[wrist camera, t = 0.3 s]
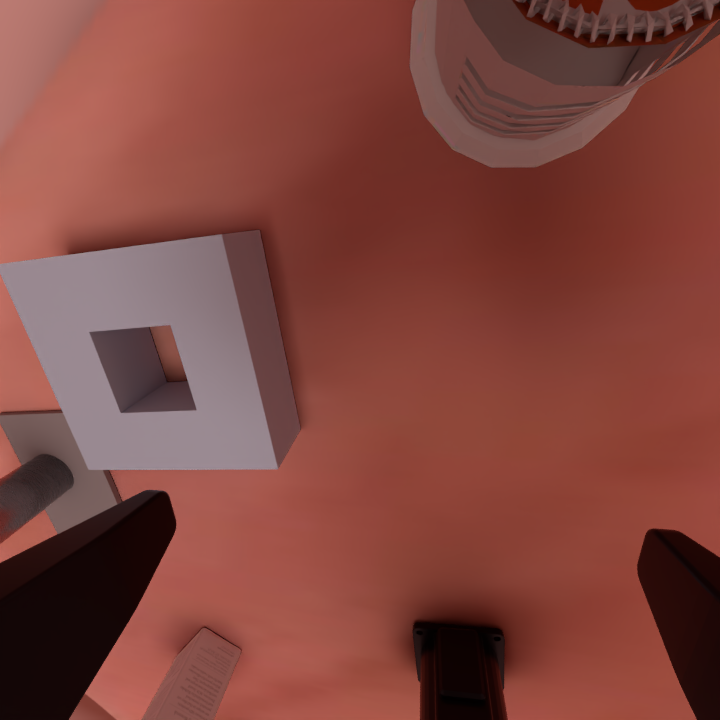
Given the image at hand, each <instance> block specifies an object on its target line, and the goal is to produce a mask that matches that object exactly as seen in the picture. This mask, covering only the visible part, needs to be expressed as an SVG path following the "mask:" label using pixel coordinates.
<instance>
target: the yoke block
mask: <svg viewBox="0 0 720 720" xmlns="http://www.w3.org/2000/svg"><path fill="white" fill-rule="evenodd" d="M0 274H1V276H2V278H3V281H4V283H5V285H6V287H7V289H8V292H9V294H10V296H11V298H12V301H13V303H14V305H15V307H16V309H17V312H18V314H19V316H20V318H21V321H22V323H23V325H24V327H25V329H26V332H27V334H28V336H29V338H30V341H31V343H32V345H33V347H34V349H35V352H36V354H37V356H38V358H39V361H40V363H41V365H42V367H43V369H44V372H45V374H46V376H47V378H48V381H49V383H50V385H51V387H52V389H53V392H54V394H55V396H56V398H57V401H58V403H59V405H60V407H61V409H62V412H63V414H64V416H65V418H66V421H67V423H68V425H69V427H70V429H71V432H72V434H73V436H74V438H75V441H76V443H77V445H78V447H79V449H80V452H81V454H82V456H83V458H84V461H85V463H86V465H87V467H88V469H89V470H219V469H279V467H280V465H281V463H282V461H283V460H284V458H285V456H286V454H287V453H288V451H289V449H290V447H291V446H292V444H293V442H294V440H295V439H296V437H297V435H298V433H299V432H300V430H301V428H300V423H299V419H298V414H297V409H296V404H295V399H294V394H293V389H292V385H291V380H290V375H289V370H288V365H287V360H286V355H285V351H284V346H283V341H282V336H281V331H280V326H279V321H278V317H277V312H276V307H275V302H274V297H273V292H272V287H271V283H270V278H269V273H268V268H267V263H266V258H265V253H264V249H263V244H262V239H261V234H260V230H253V231H245V232H236V233H228V234H219V235H212V236H205V237H197V238H190V239H182V240H175V241H167V242H160V243H153V244H145V245H138V246H130V247H123V248H116V249H108V250H101V251H93V252H86V253H78V254H71V255H64V256H56V257H49V258H41V259H34V260H26V261H19V262H12V263H4V264H0ZM164 325H171V328H172V332H173V335H174V338H175V341H176V345H177V348H178V351H179V354H180V357H181V361H182V364H183V367H184V370H185V374H186V377H187V380H188V381H181V382H167V381H166V378H165V375H164V372H163V369H162V366H161V363H160V360H159V357H158V353H157V350H156V347H155V344H154V341H153V338H152V335H151V332H150V329H149V327H153V326H164Z"/></svg>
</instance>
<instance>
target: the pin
mask: <svg viewBox="0 0 720 720" xmlns="http://www.w3.org/2000/svg"><path fill="white" fill-rule="evenodd" d="M73 484H74V478H73V474H72V472H71V470H70V469H69V468H68V466H67V465H66V464H65V463H64V462H63V461H61V460H60V459H58V458H57V457H55V456H52V455H49V454H40V455H37V456H36V457H34V458H33V459H31V460H29V461H28V462H26V463H25V464H23V465H21V466H20V467H18V468H17V469H15V470H14V471H12V472H10V473H9V474H7V475H6V476H4V477H2V478H1V479H0V544H1V543H2V542H3V541H5V540H6V539H7V538H9V537H10V536H11V535H12V534H14V533H15V532H16V531H17V530H19V529H20V528H21V527H23V526H24V525H25V524H26V523H28V522H29V521H30V520H31V519H33V518H34V517H35V516H37V515H38V514H39V513H40V512H42V511H43V510H44V509H45V508H47V507H48V506H49V505H51V504H52V503H53V502H54V501H56V500H57V499H58V498H59V497H61V496H62V495H63V494H65V493H66V492H67V491H68V490H70V489H71V488H72V486H73Z"/></svg>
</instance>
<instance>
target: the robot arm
mask: <svg viewBox="0 0 720 720" xmlns="http://www.w3.org/2000/svg"><path fill="white" fill-rule="evenodd" d="M175 530H176V519H175V515H174V511H173V508H172V504H171V501H170V497H169V495H168V494H167V493H166V492H165V491H159V490H145V491H143V492H141V493H139V494H137V495H135V496H133V497H131V498H129V499H127V500H125V501H123V502H121V503H119V504H117V505H115V506H113V507H111V508H109V509H107V510H105V511H103V512H101V513H99V514H97V515H95V516H93V517H91V518H89V519H87V520H85V521H83V522H81V523H79V524H77V525H75V526H73V527H71V528H69V529H67V530H65V531H63V532H61V533H59V534H57V535H55V536H53V537H51V538H49V539H47V540H45V541H43V542H41V543H39V544H37V545H35V546H33V547H31V548H29V549H27V550H25V551H23V552H21V553H19V554H17V555H15V556H13V557H11V558H9V559H7V560H5V561H3V562H1V563H0V720H69V718H70V717H71V715H72V713H73V712H74V710H75V708H76V707H77V705H78V703H79V702H80V700H81V699H82V697H83V695H84V694H85V692H86V690H87V689H88V687H89V686H90V684H91V682H92V681H93V679H94V677H95V676H96V674H97V672H98V671H99V669H100V668H101V666H102V664H103V663H104V661H105V659H106V658H107V656H108V655H109V653H110V651H111V650H112V648H113V646H114V645H115V643H116V641H117V640H118V638H119V637H120V635H121V633H122V632H123V630H124V628H125V627H126V625H127V624H128V622H129V620H130V618H131V617H132V615H133V613H134V612H135V610H136V608H137V606H138V604H139V602H140V601H141V599H142V597H143V595H144V593H145V591H146V589H147V587H148V585H149V583H150V581H151V579H152V577H153V575H154V573H155V571H156V569H157V567H158V565H159V563H160V561H161V559H162V557H163V555H164V553H165V551H166V549H167V547H168V545H169V543H170V541H171V539H172V537H173V535H174V533H175ZM637 571H638V577H639V580H640V583H641V585H642V588H643V591H644V593H645V596H646V598H647V601H648V604H649V606H650V609H651V611H652V614H653V616H654V619H655V622H656V624H657V627H658V629H659V632H660V635H661V637H662V640H663V642H664V645H665V648H666V650H667V653H668V655H669V658H670V661H671V663H672V666H673V668H674V671H675V673H676V675H677V678H678V680H679V683H680V685H681V687H682V689H683V691H684V694H685V696H686V698H687V700H688V702H689V704H690V706H691V708H692V710H693V712H694V714H695V716H696V719H697V720H720V557H718V556H717V555H715V554H714V553H712V552H711V551H709V550H707V549H706V548H704V547H703V546H701V545H700V544H698V543H697V542H695V541H694V540H692V539H691V538H689V537H688V536H686V535H684V534H683V533H681V532H679V531H676V530H667V529H650V530H648V531H647V533H646V535H645V538H644V542H643V545H642V549H641V553H640V556H639V560H638V564H637ZM413 639H414V648H415V657H416V666H417V675H418V681H419V682H420V720H508V719H507V712H506V706H505V700H504V694H503V689H504V647H505V639H504V634H503V631H502V630H500V629H496V628H483V627H469V626H456V625H442V624H429V623H415V624H414V625H413Z"/></svg>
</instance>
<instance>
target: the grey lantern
mask: <svg viewBox="0 0 720 720" xmlns="http://www.w3.org/2000/svg"><path fill="white" fill-rule="evenodd" d="M718 19H720V0H416V2H415V4H414V7H413V10H412V27H411V48H410V70H411V74H412V77H413V80H414V84H415V87H416V90H417V94H418V97H419V100H420V104H421V107H422V110H423V114H424V116H425V117H426V118H427V120H428V121H429V122H430V123H431V124H432V126H433V127H434V128H435V129H436V130H437V132H438V133H439V134H440V135H441V137H442V138H443V139H444V140H445V141H446V143H447V144H448V145H449V146H450V147H451V149H452V150H454V151H456V152H458V153H461V154H463V155H465V156H467V157H469V158H471V159H473V160H476V161H478V162H480V163H482V164H484V165H486V166H489V167H491V168H510V167H538V166H540V165H543V164H545V163H547V162H550V161H552V160H555V159H557V158H559V157H562V156H564V155H567V154H569V153H571V152H574V151H576V150H579V149H581V148H583V147H584V146H585V145H586V144H587V143H589V142H590V141H591V140H592V139H593V138H594V137H595V136H596V135H598V134H599V133H600V132H601V131H602V130H603V129H604V128H605V127H607V126H608V125H609V124H610V123H611V122H612V121H613V120H614V119H616V118H617V117H618V116H619V115H620V114H621V113H622V112H624V111H625V110H626V108H627V106H628V105H629V103H630V101H631V100H632V98H633V96H634V95H635V93H636V91H637V90H638V88H639V87H640V86H642V85H643V84H645V83H646V82H647V81H650V80H652V79H654V78H656V77H658V76H659V75H661V74H662V73H664V72H666V71H667V70H669V69H670V68H672V67H674V66H675V65H677V64H678V63H680V62H681V61H683V60H684V59H685V58H687V57H688V56H690V55H691V54H692V53H694V52H695V51H696V50H698V49H699V48H701V47H702V46H703V45H705V44H706V43H708V42H709V41H710V40H712V39H713V38H715V37H716V36H717V35H719V34H720V20H719V21H718V22H717V23H716V24H715V26H714V27H713V28H712V29H711V30H710V32H709V33H708V34H707V35H706V36H705V38H704V39H703V40H702V41H701V42H700V43H699V44H698V45H696V46H695V47H694V48H692V49H691V50H689V51H688V49H689V48H690V47H691V46H692V45H693V43H694V42H695V41H696V40H697V39H698V37H699V36H700V35H701V34H702V33H703V31H704V30H705V29H706V28H707V27H708V26H709V25H710V24H712V23H713V22H715V21H717V20H718ZM686 40H687V41H686ZM685 41H686V42H685ZM683 42H685V43H684V44H683V46H682V47H681V48H680V49H679V51H678V52H677V53H676V54H675V56H674V57H673V58H672V59H671V61H670V62H669V63H668V64H666V65H665V66H664V67H662V68H661V69H659V70H658V71H657V72H655V71H656V70H657V69H658V68H659V67H660V66H661V65H662V63H663V62H664V61H665V60H666V59H667V58H668V56H669V55H670V54H671V53H672V52H673V50H674V49H675V48H676V47H677V46H679V45H680V44H682V43H683ZM687 51H688V52H687ZM686 52H687V53H686ZM682 55H683V56H682ZM659 58H660V59H659ZM678 58H679V59H678ZM657 59H659V60H658V61H657V62H656V63H655V65H654V66H653V67H652V65H653V63H654V62H655V61H656V60H657ZM674 61H675V62H674ZM671 63H672V64H671ZM670 64H671V65H670ZM667 66H668V67H667ZM651 67H652V68H651ZM650 68H651V69H650ZM663 69H664V70H663ZM649 70H650V71H649ZM653 72H655V73H654V74H652V73H653ZM651 74H652V75H651Z"/></svg>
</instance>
